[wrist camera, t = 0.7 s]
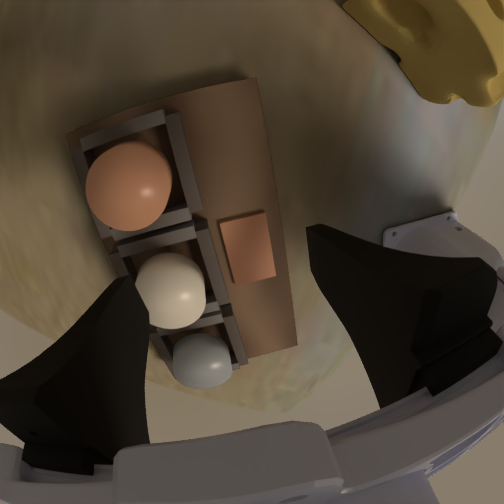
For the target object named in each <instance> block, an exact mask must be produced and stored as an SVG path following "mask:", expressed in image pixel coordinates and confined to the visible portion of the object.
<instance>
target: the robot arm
mask: <svg viewBox="0 0 504 504" xmlns="http://www.w3.org/2000/svg"><path fill="white" fill-rule="evenodd" d="M457 215H458V214H457V213H456V212H455V211H451V212H447V213H444V214H440V215H436V216H433V217H429V218H426V219H422V220H418V221H415V222H411V223H407V224H403V225H400V226H396V227H392V228H389V229H386V230H385V231H384V234H383V246H381V245H377V244H374V243H371V242H368V241H365V240H363V239H360V238H357V237H355V236H352V235H349V234H347V233H344V232H342V231H339V230H337V229H334V228H332V227H329V226H327V225H323V224H317V225H313V226H309V227H306V233H307V242H308V250H309V259H310V268H311V272H312V274H313V276H314V278H315V280H316V282H317V284H318V286H319V288H320V290H321V292H322V293H323V295H324V296H325V298H326V299H327V301H328V302H329V304H330V305H331V307H332V308H333V310H334V311H335V313H336V314H337V316H338V318H339V319H340V321H341V322H342V324H343V325H344V327H345V328H346V330H347V332H348V334H349V335H350V337H351V339H352V341H353V343H354V346H355V348H356V350H357V352H358V354H359V356H360V358H361V361H362V363H363V365H364V368H365V370H366V372H367V374H368V377H369V380H370V382H371V385H372V387H373V389H374V392H375V395H376V398H377V400H378V403H379V406H380V410H378V411H375V412H373V413H371V414H368V415H366V416H363V417H361V418H358V419H356V420H353V421H351V422H348V423H346V424H343V425H341V426H338V427H335V428H332V429H329V430H326V431H324V430H323V429H322V428H321V427H320V426H319V425H318V424H315V423H312V422H311V423H310V422H300V421H289V422H282V423H275V424H269V425H263V426H259V427H254V428H250V429H246V430H241V431H236V432H231V433H226V434H221V435H216V436H210V437H203V438H196V439H189V440H182V441H174V442H164V443H152V444H150V441H149V435H148V428H147V418H146V408H145V388H144V387H145V372H146V362H147V353H148V345H149V335H150V319H149V311H148V309H147V307H146V306H145V304H144V302H143V300H142V298H141V296H140V294H139V292H138V290H137V288H136V286H135V284H134V282H133V280H132V278H131V276H130V275H127V276H123V277H120V278H117V279H116V280H114V281H113V282H112V283H111V284H110V285H109V286H108V287H107V288H106V289H105V291H104V292H103V293H102V294H101V295H100V296H99V297H98V298H97V300H96V301H95V302H94V303H93V304H92V305H91V306H90V308H89V309H88V310H87V311H86V312H85V313H84V314H83V315H82V316H81V317H80V318H79V320H78V321H77V322H76V323H75V324H74V325H73V326H72V327H71V328H70V329H69V330H68V331H67V332H66V333H65V334H64V335H63V336H62V337H60V338H59V339H58V340H57V341H56V342H55V343H54V344H52V345H51V346H50V347H49V348H47V349H46V350H45V351H44V352H43V353H41V354H40V355H39V356H37V357H36V358H35V359H33V360H32V361H30V362H29V363H27V364H26V365H24V366H23V367H21V368H20V369H18V370H16V371H15V372H13V373H11V374H9V375H8V376H6V377H4V378H2V379H0V423H1V424H2V425H3V426H4V427H5V428H7V429H8V430H9V431H10V432H12V433H13V434H14V435H15V436H17V437H18V438H19V439H20V440H22V441H23V442H25V445H24V449H22V448H20V447H17V446H14V445H9V444H4V443H0V501H1V502H3V503H5V504H439V502H438V499H437V497H436V495H435V493H434V491H433V489H432V487H431V485H430V483H429V481H428V479H427V478H428V477H430V476H432V475H433V474H435V473H437V472H438V471H440V470H441V469H443V468H444V467H446V466H447V465H449V464H450V463H452V462H453V461H454V460H456V459H457V458H459V457H460V456H462V455H463V454H464V453H466V452H467V451H468V450H470V449H471V448H472V447H474V446H475V445H476V444H478V443H479V442H480V441H481V440H483V439H484V438H485V437H486V436H487V435H489V434H490V433H491V432H492V431H493V430H494V429H496V428H497V427H498V426H499V425H500V424H501V423H504V261H503V259H502V257H501V255H500V253H499V252H498V251H497V249H496V248H495V247H494V246H492V245H491V244H490V243H488V242H487V241H485V240H484V239H482V238H481V237H480V236H478V235H477V234H475V233H474V232H472V231H471V230H469V229H468V228H466V227H464V226H463V225H462V224H460V223H459V222H457ZM393 232H394V234H393ZM392 234H393V235H392Z"/></svg>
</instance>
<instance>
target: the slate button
mask: <svg viewBox="0 0 504 504" xmlns="http://www.w3.org/2000/svg"><path fill="white" fill-rule="evenodd" d="M173 374H174V377H175V378H176V380H177V381H178V382H180V383H181V384H183V385H185V386H188V387H191V388H196V389H207V388H213V387H216V386H219V385H221V384H223V383H224V382H226V381H227V380H228V379H229V378H230V376H231V374H232V365H231V359H230V353H229V348H228V345H227V344H226V342H225V341H224V340H222V339H221V338H219V337H217V336H215V335H212V334H206V333H196V334H191V335H188V336H185V337H183V338H182V339H180V340H179V341H178V342H177V343H176V344H175V346H174V349H173Z"/></svg>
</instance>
